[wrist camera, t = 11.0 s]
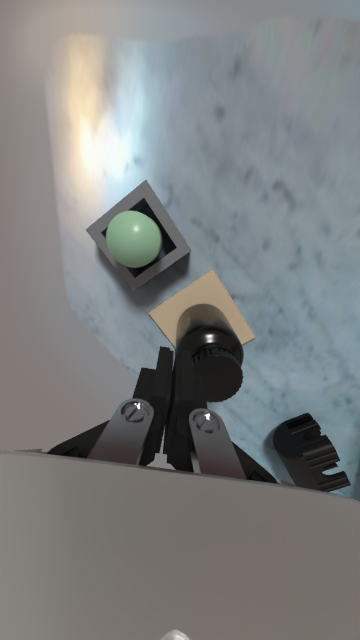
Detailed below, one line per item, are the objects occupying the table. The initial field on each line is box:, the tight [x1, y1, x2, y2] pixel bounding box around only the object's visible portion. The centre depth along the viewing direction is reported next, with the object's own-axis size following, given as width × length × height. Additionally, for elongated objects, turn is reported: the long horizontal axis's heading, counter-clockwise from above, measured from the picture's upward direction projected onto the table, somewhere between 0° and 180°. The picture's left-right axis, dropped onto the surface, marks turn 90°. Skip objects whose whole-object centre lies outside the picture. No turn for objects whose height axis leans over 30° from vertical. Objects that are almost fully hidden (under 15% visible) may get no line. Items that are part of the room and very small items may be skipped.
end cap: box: [273, 413, 351, 492], centre depth 33 cm, size 10×7×7 cm
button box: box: [86, 180, 191, 291], centre depth 25 cm, size 8×8×3 cm
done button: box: [106, 211, 163, 268], centre depth 22 cm, size 5×5×3 cm
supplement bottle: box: [175, 304, 244, 402], centre depth 24 cm, size 7×7×12 cm
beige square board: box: [148, 269, 255, 348], centre depth 30 cm, size 11×10×1 cm
